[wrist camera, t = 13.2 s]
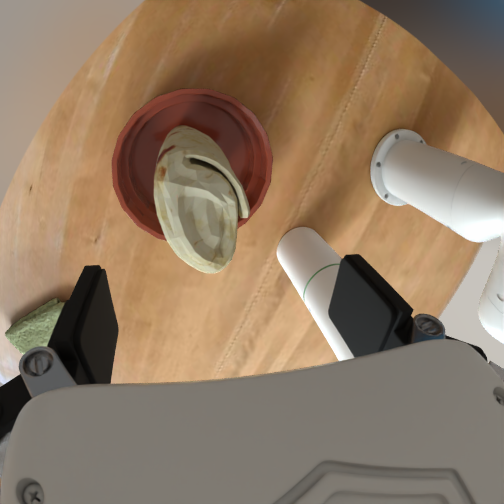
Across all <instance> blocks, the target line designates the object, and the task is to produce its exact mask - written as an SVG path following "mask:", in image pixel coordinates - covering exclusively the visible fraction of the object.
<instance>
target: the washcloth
mask: <svg viewBox="0 0 504 504" xmlns="http://www.w3.org/2000/svg"><path fill="white" fill-rule="evenodd" d="M64 303H65V302H64ZM64 303H62V302H60V300H59V299H58V298H55V299H52V300H51V301H49V302H47V303H46V304H45V305H42V306H41V307H39V308H38V309H37V310H35V311H33V312H31V313H29V314H28V315H27V316H25V317H23V318H22V319H20V320H19V321H18V322H16V323H15V324H14V325H13V326H11V327H10V328H9V330H7V331H6V332H5V334H6V335H5V336H6V338H7V339H8V340H9V341H10V342H11V343H12V344H13V345H14V346H15V347H16V348H17V349H18V350H19V351H20V353H23V354H25V353H26V352H27V351H29V350H30V349H32V348H35V347H38V346H46V347H47V345H48V342H49V340H50V337H51V334H52V332H53V329H54V327H55V324H56V322H57V320H58V317H59V315H60V313H61V310H62V308H63V306H64Z"/></svg>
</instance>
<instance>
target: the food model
mask: <svg viewBox="0 0 504 504" xmlns="http://www.w3.org/2000/svg"><path fill="white" fill-rule="evenodd" d="M154 200H155V205H156V211H157V216H158V219H159V222H160V224H161V227H162V230H163V232H164V235H165V238H166V240H167V241H168V243H169V244H170V246H171V247H172V249H173V250H174V252H175V253H176V255H177V256H178V257H180V258H181V259H182V260H184V261H185V262H186V263H187V264H189V265H190V266H192V267H194V268H195V269H197V270H199V271H202V272H205V273H216V272H219V271H221V270H222V269H224V268H225V267H226V266H227V265H228V264H229V263H230V261H231V260H232V257H233V254H234V252H235V249H236V239H237V225H238V215H239V216H240V218H248V216H249V214H250V207H249V203H248V200H247V197H246V195H245V192H244V189H243V187H242V185H241V183H240V182H239V180H238V179H237V177H236V176H235V174H234V172H233V170H232V169H231V166H230V163H229V161H228V159H227V158H226V156H225V155H224V153H223V151H222V150H221V148H220V147H219V146H218V145H217V144H216V143H215V142H214V141H213V140H212V139H211V138H210V137H209V136H207V135H206V134H204V133H202V132H200V131H198V130H196V129H194V128H191V127H188V126H186V125H179V126H176V127H174V129H172V130H171V131H170V133H169V134H168V135H167V137H166V139H165V141H164V143H163V145H162V147H161V149H160V151H159V155H158V159H157V163H156V168H155V173H154Z"/></svg>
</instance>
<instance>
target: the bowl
mask: <svg viewBox="0 0 504 504" xmlns="http://www.w3.org/2000/svg"><path fill="white" fill-rule="evenodd" d="M179 125H186V126H188V127H191V128H194V129H196V130H198V131H200V132H202V133H204V134H206V135H207V136H209V137H210V138H211V139H212V140H213V141H214V142H215V143H216V144H217V145H218V146H219V147H220V148H221V150H222V151H223V153H224V155H225V156H226V158H227V159H228V161H229V163H230V166H231V169H232V170H233V172H234V174H235V176H236V177H237V179H238V180H239V182H240V183H241V185H242V187H243V189H244V192H245V195H246V197H247V200H248V203H249V207H250V214H249V216H248V218H240V216H239V215H238V225H237V229H238V228H239V227H241V226H242V225H243V224H245V223H246V222H247V221H248V220H249V219H250V217H251V216H252V215H253V214H254V213H255V211H256V210H257V209H258V208H259V207H260V205H261V204H262V202H263V199H264V197H265V195H266V192H267V190H268V188H269V185H270V183H271V174H272V163H273V157H272V152H271V148H270V144H269V139H268V135H267V133H266V132H265V130H264V128H263V127H262V125H261V124H260V122H259V120H258V119H257V117H256V116H255V114H254V113H253V112H252V111H250V110H249V109H248V108H247V107H245V106H244V105H243V104H242V103H240V102H239V101H238V100H237V99H235V98H234V97H231V96H228V95H226V94H223V93H220V92H217V91H214V90H211V89H179V90H176V91H173V92H170V93H167V94H164V95H161V96H158V97H156V98H154V99H153V100H151V101H150V102H149V103H147V104H146V105H145V106H143V107H142V108H141V109H139V110H138V111H137V112H135V113H134V114H133V116H132V117H131V118H130V120H129V121H128V123H127V124H126V126H125V127H124V129H123V130H122V132H121V133H120V135H119V136H118V140H117V143H116V147H115V150H114V154H113V157H112V178H113V187H114V190H115V192H116V195H117V197H118V199H119V202H120V204H121V207H122V208H123V210H124V211H125V212H126V213H127V215H128V216H129V217H130V218H131V219H132V220H133V222H134V223H135V224H136V225H137V226H138V227H140V228H141V229H143V230H144V231H146V232H148V233H149V234H151V235H153V236H154V237H156V238H158V239H161V240H165V241H167V240H166V238H165V235H164V232H163V230H162V227H161V224H160V222H159V219H158V216H157V211H156V205H155V200H154V173H155V168H156V163H157V159H158V155H159V151H160V149H161V147H162V145H163V143H164V141H165V139H166V137H167V135H168V134H169V133H170V131H171V130H172V129H174V127H176V126H179Z"/></svg>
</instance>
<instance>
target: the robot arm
mask: <svg viewBox="0 0 504 504" xmlns="http://www.w3.org/2000/svg"><path fill="white" fill-rule="evenodd" d="M370 173H371V181H372V184H373V187H374V189H375V191H376V193H377V194H378V196H379V197H380V198H381V199H383V200H384V201H385V202H387V203H389V204H392V205H398V206H400V205H405V204H407V203H408V204H410V205H412V206H414V207H415V208H417V209H419V210H421V211H422V212H424V213H426V214H427V215H429V216H431V217H432V218H434V219H436V220H437V221H439V222H440V223H442V224H444V225H445V226H447V227H448V228H450V229H451V230H453V231H455V232H456V233H458V234H459V235H461V236H462V237H464V238H466V239H467V240H470V241H473V242H485V241H489V240H492V239H495V238H498V237H501V244H500V247H499V250H498V255H497V257H496V260H495V263H494V265H493V268H492V271H491V273H490V276H489V278H488V281H487V283H486V285H485V288H484V290H483V293H482V295H481V298H480V301H479V306H478V315H479V319H480V321H481V324H482V325H483V327H484V328H485V329H486V331H487V332H488V333H489V334H490V335H492V336H493V337H494V338H496V339H497V340H498V341H500V342H502V343H503V344H504V173H502V172H500V171H497V170H495V169H492V168H490V167H487V166H485V165H482V164H480V163H477V162H475V161H472V160H469V159H467V158H464V157H461V156H459V155H456V154H453V153H450V152H447V151H444V150H441V149H438V148H435V147H432V146H429V145H427V144H426V143H425V141H424V140H423V138H422V137H421V136H420V135H419V134H417V133H416V132H414V131H411V130H407V129H397V130H393V131H392V132H390V133H388V134H387V135H386V136H384V137H383V138H382V140H381V141H380V142H379V143H378V145H377V147H376V149H375V151H374V154H373V157H372V161H371V171H370ZM412 312H413V309H412V308H411V307H410V305H409V304H408V303H407V302H406V301H405V300H404V299H403V298H402V297H401V296H400V295H399V294H398V293H397V292H396V291H395V290H394V289H393V288H392V287H391V286H390V285H389V284H388V283H387V281H386V280H385V279H384V278H383V277H382V276H381V275H380V274H379V273H378V272H377V271H376V270H375V269H374V268H373V267H372V266H371V265H370V264H369V263H368V262H367V261H366V260H365V259H364V258H363V257H361V256H360V255H359V254H353V255H346V256H345V257H344V258H343V259H341V261H340V265H339V270H338V274H337V278H336V282H335V286H334V290H333V294H332V298H331V301H330V305H329V309H328V315H329V318H330V319H331V321H332V323H333V324H334V326H335V327H336V329H337V330H338V332H339V334H340V335H341V337H342V338H343V340H344V342H345V343H346V345H347V346H348V348H349V350H350V351H351V353H352V354H353V356H354V358H352V359H347V360H342V361H337V362H332V363H327V364H322V365H317V366H311V367H306V368H300V369H294V370H287V371H281V372H274V373H267V374H259V375H252V376H243V377H234V378H224V379H213V380H201V381H186V382H165V383H126V384H110V383H111V376H112V369H113V362H114V355H115V349H116V343H117V338H118V323H117V319H116V315H115V311H114V307H113V303H112V298H111V294H110V289H109V285H108V280H107V275H106V271H105V269H101V267H100V266H99V265H92V266H85V267H84V269H83V271H82V273H81V275H80V277H79V279H78V281H77V284H76V286H75V288H74V290H73V292H72V295H71V297H70V299H69V300H67V301H66V302H65V303H64V306H63V308H62V310H61V313H60V315H59V317H58V320H57V322H56V324H55V327H54V329H53V332H52V334H51V337H50V340H49V342H48V345H47V347H46V346H38V347H35V348H32V349H30V350H29V351H27V352H26V353H25V354H24V355H23V356H22V358H21V360H20V362H19V371H20V375H18V376H17V377H15V378H14V379H12V380H10V381H9V382H7V383H6V384H4V385H3V386H1V387H0V504H504V369H503V368H501V367H500V366H498V365H496V364H495V363H493V362H491V361H490V362H489V363H488V362H487V357H486V355H485V354H484V352H483V350H482V349H481V348H479V347H477V346H474V345H471V344H469V343H466V342H463V341H460V340H457V339H454V338H451V337H449V336H446V335H445V328H444V325H443V324H442V322H440V321H439V320H438V319H437V318H435V317H434V316H431V315H428V314H418V315H416V316H415V317H414V318H412V317H411V314H412Z"/></svg>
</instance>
